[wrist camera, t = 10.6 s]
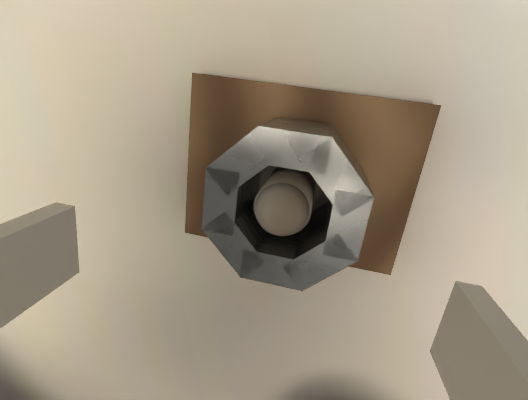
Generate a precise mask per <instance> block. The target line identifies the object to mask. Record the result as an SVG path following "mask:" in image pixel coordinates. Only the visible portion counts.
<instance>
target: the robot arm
mask: <svg viewBox="0 0 528 400" xmlns="http://www.w3.org/2000/svg"><path fill="white" fill-rule="evenodd" d="M77 273H79V261H78V246H77V231H76V216H75V206H71V205H66V204H61V203H54V204H51V205H48V206H46V207H43V208H41V209H38V210H36V211H33V212H31V213H28V214H25V215H23V216H20V217H18V218H15V219H13V220H10V221H7V222H5V223H2V224H0V328H2V327H3V326H4V325H6V324H7V323H9V322H10V321H11V320H13V319H14V318H16V317H17V316H18V315H20V314H21V313H23V312H24V311H25V310H27V309H28V308H30V307H31V306H32V305H34V304H35V303H37V302H38V301H39V300H41V299H42V298H44V297H45V296H47V295H48V294H49V293H51V292H52V291H54V290H55V289H56V288H58V287H59V286H61V285H62V284H63V283H65V282H66V281H68V280H69V279H70V278H72V277H73V276H75V275H76V274H77ZM430 352H431V355H432V357H433V360H434V362H435V364H436V367H437V369H438V372H439V374H440V376H441V379H442V381H443V384H444V386H445V388H446V391H447V393H448V396H449V398H450V400H528V341H527V339H526V338H525V337H524V336H523V335H522V333H521V332H520V331H519V330H518V329H517V327H516V326H515V325H514V324H513V323H512V322H511V320H510V319H509V318H508V317H507V316H506V314H505V313H504V312H503V311H502V310H501V308H500V307H499V306H498V305H497V304H496V302H495V301H494V300H493V299H492V298H491V296H490V295H489V294H488V293H487V292H486V290H485V289H484V288H483V287H482V286H479V285H473V284H468V283H463V282H458V281H456V282H455V284H454V287H453V290H452V292H451V295H450V298H449V301H448V303H447V306H446V309H445V311H444V314H443V317H442V320H441V322H440V325H439V328H438V330H437V333H436V336H435V338H434V341H433V344H432V347H431V349H430Z"/></svg>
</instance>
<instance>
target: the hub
mask: <svg viewBox="0 0 528 400" xmlns="http://www.w3.org/2000/svg"><path fill="white" fill-rule="evenodd" d="M268 165H271V166H277V167H283V168H289V169H294V170H300V171H306V172H310V174H311V175H312V176H313V178H314V179H315V181H316V182H317V183H318V185H319V186H320V187H321V189H322V190H323V192H324V193H325V194H326V196H327V197H328V199H327V202H326V203H325V204H323V205H321V206H320V207H318V208H317V209H315V210H314V211H312V212H311V216H310V219H309V221H308V223H307V225H306V226H305V227H304V228H303V229H302V230H300V231H299V232H297V233H295V234H292V235H288V236H276V235H273V234H271V233H269V232H267V231H266V230H264V229H263V228H262V227H261V225H260V224H259V222H258V220H257V218H256V216H255V213H254V201H255V197H256V195H257V193H258V192H259V191H260V190H259V187H260V179H261V171H262V170H263V169H264V168H265V167H267V166H268ZM373 199H374V194H373V192H372V190H371V187H370V185H369V182H368V180H367V178H366V175H365V173H364V170H363V168H362V167H361V166H360V164H359V163H358V161H357V160H356V159H355V157H354V156H353V154H352V153H351V151H350V150H349V149H348V147H347V146H346V144H345V143H344V141H343V140H342V138H341V137H340V136H339V134H338V133H337V131H336V130H335V128H334V127H333V125H332V124H325V123H318V122H311V121H304V120H298V119H291V118H284V117H276V118H274V119H271V120H269V121H267V122H265V123H263V124H260V125H258V126H257V127H256V128H255V129H254V130H253V131H251V132H250V133H249V134H248V135H246V136H245V137H244V138H243V139H241V140H240V141H239V142H237V143H236V144H235V145H234V146H232V147H231V148H230V149H229V150H227V151H226V152H225V153H224V154H222V155H221V156H220V157H219V158H217V159H216V160H215V161H213V162H212V163H211V164H210V165H208V166H206V172H205V188H204V203H203V218H202V228H201V229H202V230H203V231H204V232H205V234H206V235H207V236H208V237H209V239H210V240H211V241H212V242H213V244H214V245H215V246H216V247H217V249H218V250H219V251H220V252H221V254H222V255H223V256H224V257H225V258H226V260H227V261H228V262H229V263H230V265H231V266H232V267H233V268H234V270H235V271H236V272H237V273H238V275H239V276H240V277H241V278H246V279H251V280H255V281H260V282H264V283H269V284H273V285H278V286H282V287H287V288H291V289H296V290H300V291H303V290H305V289H306V288H308V287H310V286H312V285H314V284H316V283H318V282H320V281H321V280H323V279H325V278H327V277H329V276H331V275H333V274H335V273H336V272H338V271H340V270H342V269H344V268H346V267H348V266H350V265H351V264H353V263H355V262H358V258H359V254H360V250H361V246H362V242H363V238H364V235H365V231H366V227H367V223H368V219H369V215H370V211H371V207H372V203H373Z"/></svg>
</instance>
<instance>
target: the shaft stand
mask: <svg viewBox="0 0 528 400" xmlns="http://www.w3.org/2000/svg"><path fill="white" fill-rule="evenodd" d="M440 107H441V105H434V104H426V103H419V102H411V101H403V100H396V99H388V98H380V97H373V96H365V95H357V94H350V93H342V92H335V91H327V90H319V89H312V88H304V87H296V86H289V85H281V84H273V83H266V82H258V81H250V80H243V79H235V78H227V77H220V76H212V75H205V74H197V73H192V89H191V111H190V134H189V156H188V179H187V201H186V223H185V233H190V234H195V235H200V236H205V237H208V236H207V235H206V234H205V232H204V231H203V230H202V229H201V228H202V218H203V203H204V188H205V172H206V166H208V165H210V164H211V163H212V162H213V161H215V160H216V159H217V158H219V157H220V156H221V155H222V154H224V153H225V152H226V151H227V150H229V149H230V148H231V147H232V146H234V145H235V144H236V143H237V142H239V141H240V140H241V139H243V138H244V137H245V136H246V135H248V134H249V133H250V132H251V131H253V130H254V129H255V128H256V127H257V126H258V125H260V124H263V123H265V122H267V121H269V120H271V119H274V118H276V117H284V118H291V119H298V120H304V121H311V122H318V123H325V124H332V125H333V127H334V128H335V130H336V131H337V133H338V134H339V136H340V137H341V138H342V140H343V141H344V143H345V144H346V146H347V147H348V149H349V150H350V151H351V153H352V154H353V156H354V157H355V159H356V160H357V161H358V163H359V164H360V166H361V167H362V168H363V170H364V173H365V175H366V178H367V180H368V182H369V185H370V187H371V190H372V192H373V194H374V199H373V203H372V207H371V211H370V215H369V219H368V223H367V227H366V231H365V235H364V238H363V242H362V246H361V250H360V254H359V258H358V262H355V263H353V264H351V265H350V267H355V268H359V269H364V270H369V271H374V272H379V273H384V274H388V275H391V272H392V268H393V265H394V261H395V258H396V255H397V251H398V248H399V245H400V241H401V238H402V235H403V231H404V228H405V225H406V221H407V218H408V215H409V211H410V208H411V204H412V201H413V198H414V194H415V191H416V188H417V184H418V181H419V178H420V174H421V171H422V168H423V164H424V161H425V158H426V154H427V151H428V147H429V144H430V141H431V137H432V134H433V131H434V127H435V124H436V121H437V117H438V114H439V111H440ZM259 190H260V191H259V192H258V193H257V195H256V197H255V201H254V213H255V216H256V218H257V220H258V222H259V224H260V225H261V227H262V228H263V229H264V230H266V231H267V232H269V233H271V234H273V235H276V236H288V235H292V234H295V233H297V232H299V231H300V230H302V229H303V228H304V227H305V226H306V225H307V223H308V221H309V219H310V216H311V212H312V211H314V210H315V209H317V208H318V207H320V206H321V205H323V204H325V203H326V202H327V199H328V197H327V196H326V194H325V193H324V192H323V190H322V189H321V187H320V186H319V185H318V183H317V182H316V181H315V179H314V178H313V176H312V175H311V174H310V172H306V171H300V170H294V169H289V168H283V167H277V166H271V165H268V166H267V167H265V168H264V169H263V170H262V171H261V179H260V187H259Z"/></svg>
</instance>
